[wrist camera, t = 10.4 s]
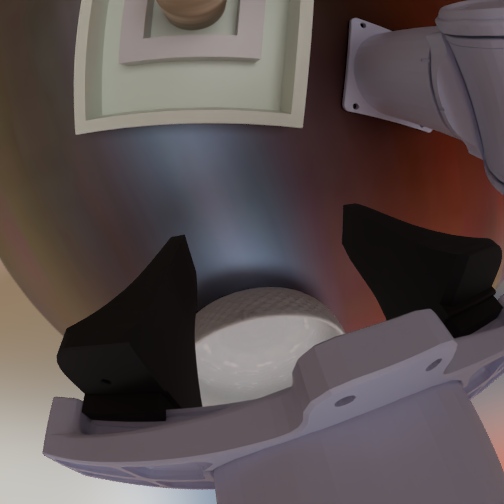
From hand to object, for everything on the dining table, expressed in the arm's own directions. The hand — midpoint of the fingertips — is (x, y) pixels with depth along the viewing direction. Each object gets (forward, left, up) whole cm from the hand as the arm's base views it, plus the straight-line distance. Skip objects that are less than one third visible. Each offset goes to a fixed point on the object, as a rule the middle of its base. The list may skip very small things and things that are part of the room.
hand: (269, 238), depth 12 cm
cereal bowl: (-2, +16, -10) cm, 19 cm away
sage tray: (+4, -13, -10) cm, 16 cm away
